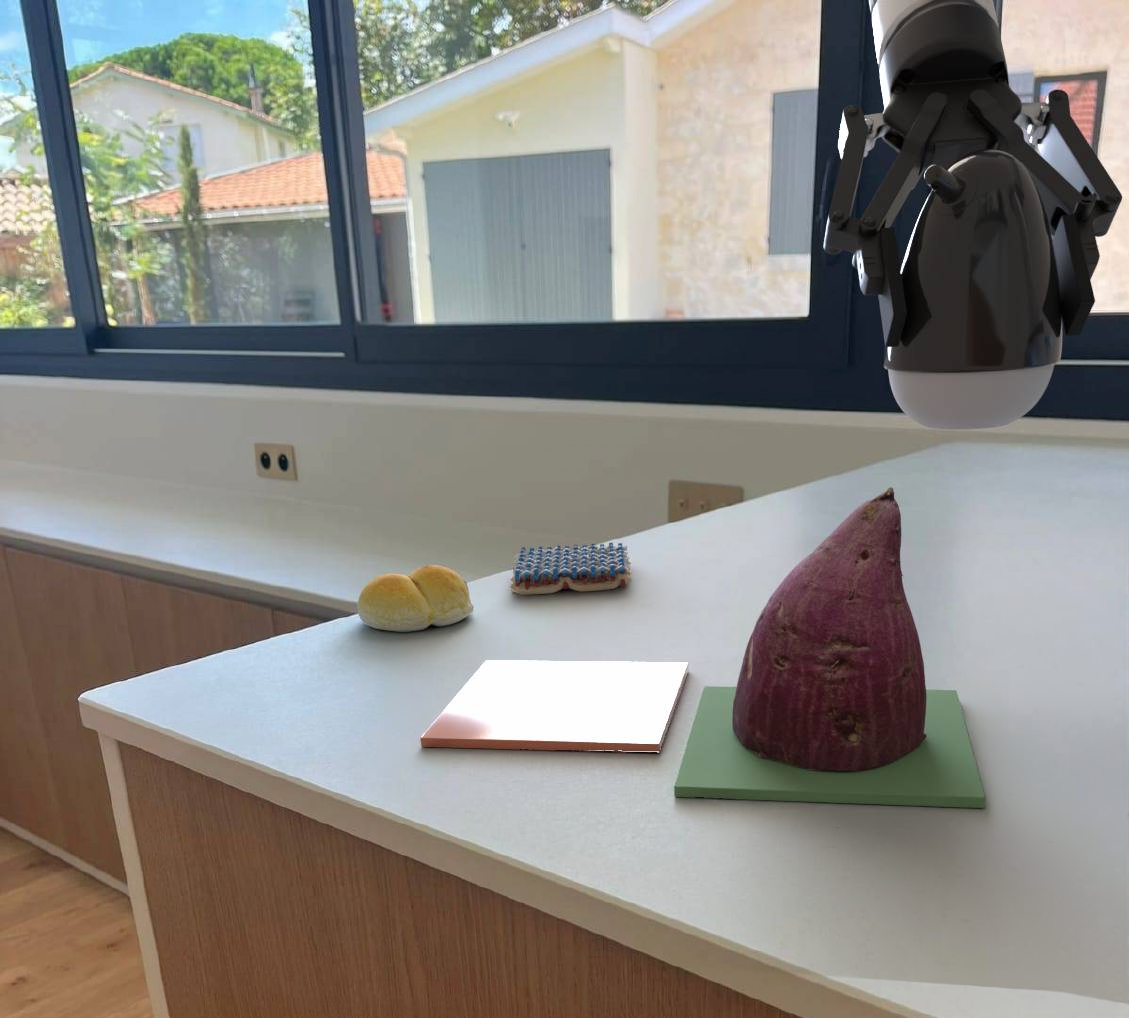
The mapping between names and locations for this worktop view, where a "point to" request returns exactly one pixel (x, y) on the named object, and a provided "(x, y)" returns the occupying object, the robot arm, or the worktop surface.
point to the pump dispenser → (977, 298)
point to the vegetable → (837, 655)
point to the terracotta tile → (561, 706)
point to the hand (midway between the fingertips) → (987, 324)
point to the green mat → (914, 779)
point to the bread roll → (415, 600)
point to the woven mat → (570, 569)
